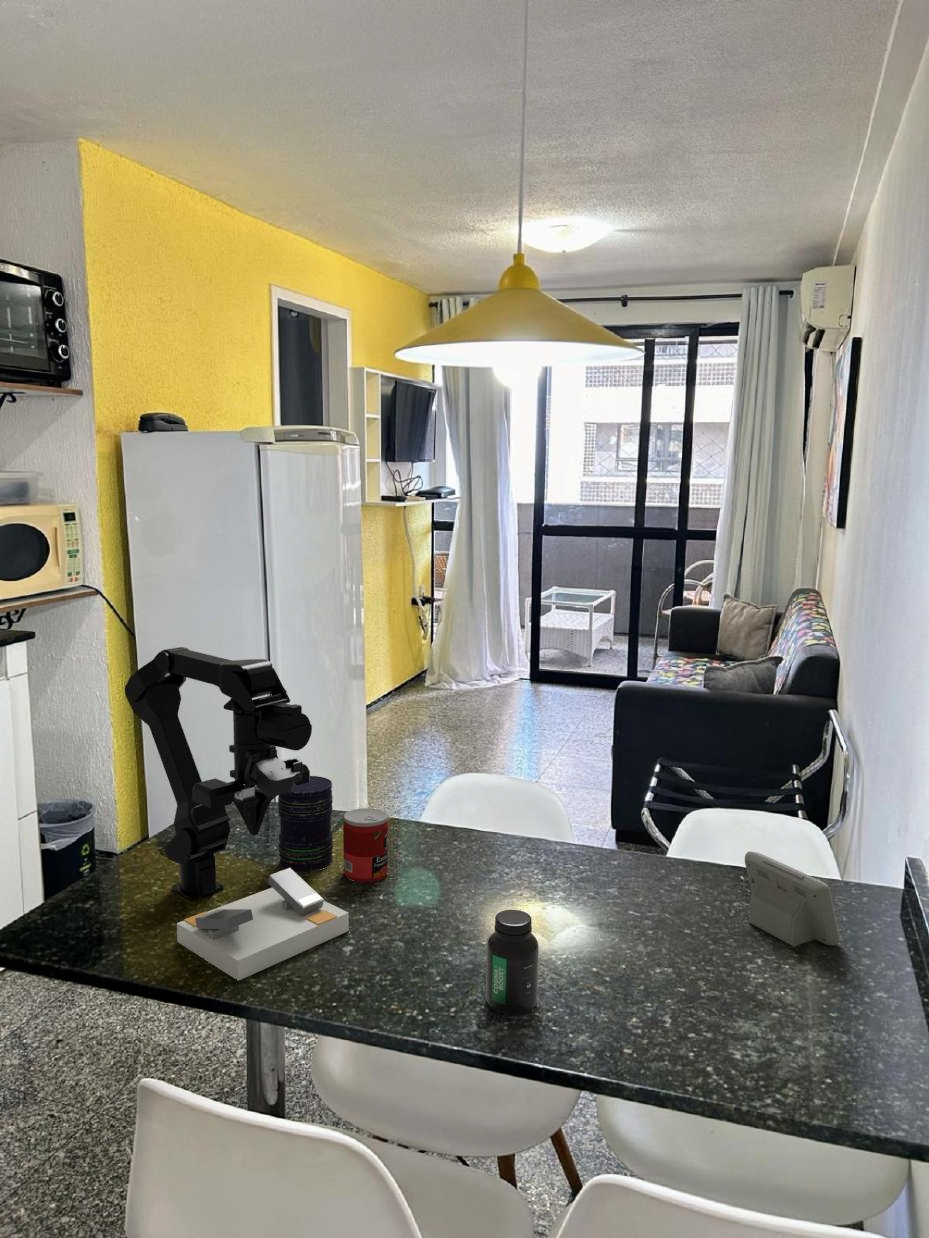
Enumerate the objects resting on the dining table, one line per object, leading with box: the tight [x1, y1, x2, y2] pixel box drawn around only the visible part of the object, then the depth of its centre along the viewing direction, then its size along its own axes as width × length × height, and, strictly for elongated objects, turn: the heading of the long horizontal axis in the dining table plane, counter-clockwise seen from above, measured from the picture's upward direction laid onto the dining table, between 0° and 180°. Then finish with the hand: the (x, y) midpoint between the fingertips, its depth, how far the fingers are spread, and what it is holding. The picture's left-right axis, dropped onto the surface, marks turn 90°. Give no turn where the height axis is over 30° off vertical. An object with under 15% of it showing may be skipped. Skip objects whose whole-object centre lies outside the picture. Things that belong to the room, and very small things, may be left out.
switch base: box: [176, 887, 350, 981], centre depth 137 cm, size 16×20×4 cm
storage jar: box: [277, 775, 334, 874], centre depth 164 cm, size 10×10×15 cm
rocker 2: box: [267, 868, 325, 916], centre depth 141 cm, size 9×4×2 cm, turn 47°
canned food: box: [342, 807, 389, 884], centre depth 159 cm, size 8×8×11 cm
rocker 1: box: [195, 909, 253, 929], centre depth 131 cm, size 9×4×2 cm, turn 49°
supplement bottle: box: [485, 909, 540, 1016], centre depth 119 cm, size 7×7×12 cm
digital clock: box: [744, 851, 840, 947], centre depth 141 cm, size 16×9×11 cm, turn 18°
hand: (254, 834), depth 143 cm, fingers closed
